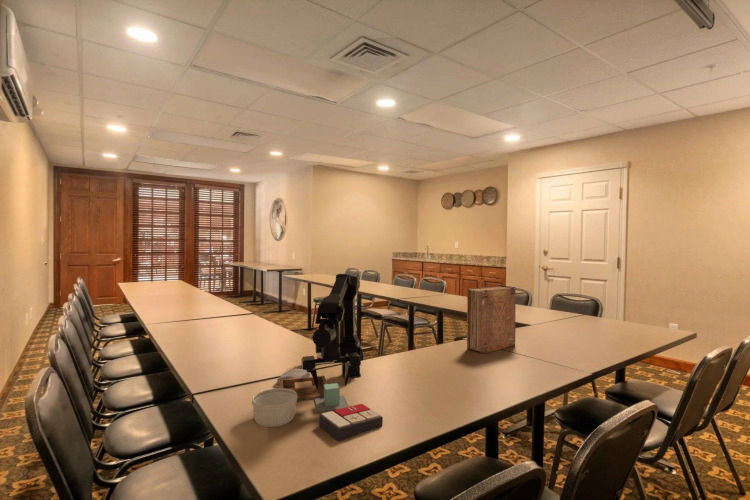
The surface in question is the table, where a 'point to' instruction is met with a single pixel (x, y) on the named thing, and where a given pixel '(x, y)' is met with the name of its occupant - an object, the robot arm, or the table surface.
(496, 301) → the book
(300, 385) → the caddy
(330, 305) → the robot arm
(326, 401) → the teal block
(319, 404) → the pad
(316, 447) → the table surface
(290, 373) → the stone block
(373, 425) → the calculator
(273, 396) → the ramekin
